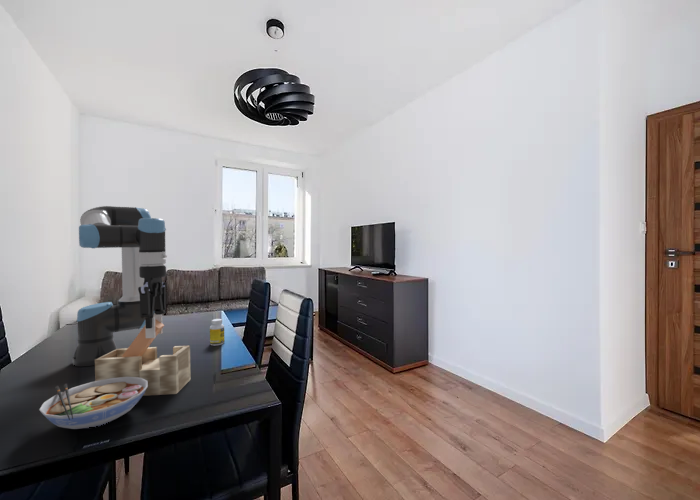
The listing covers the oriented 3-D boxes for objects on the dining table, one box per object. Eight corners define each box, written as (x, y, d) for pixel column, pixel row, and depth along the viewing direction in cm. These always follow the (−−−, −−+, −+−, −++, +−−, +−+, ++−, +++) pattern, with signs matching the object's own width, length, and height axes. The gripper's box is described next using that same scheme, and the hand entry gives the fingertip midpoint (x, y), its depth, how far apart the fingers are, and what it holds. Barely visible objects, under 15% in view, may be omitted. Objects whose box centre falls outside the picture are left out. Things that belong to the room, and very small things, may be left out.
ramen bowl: (159, 421, 85) (159, 391, 85) (40, 463, 69) (39, 425, 69) (138, 392, 103) (137, 366, 103) (39, 420, 87) (38, 390, 87)
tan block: (120, 378, 103) (110, 371, 103) (128, 373, 107) (118, 367, 107) (158, 328, 104) (148, 321, 104) (164, 325, 108) (154, 318, 108)
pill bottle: (219, 346, 150) (218, 321, 150) (207, 345, 151) (206, 321, 151) (227, 342, 156) (226, 318, 156) (215, 341, 157) (215, 318, 157)
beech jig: (95, 398, 99) (94, 359, 99) (118, 383, 110) (117, 348, 110) (176, 393, 101) (175, 356, 101) (190, 379, 112) (189, 345, 112)
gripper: (151, 266, 97) (152, 343, 98) (176, 263, 114) (177, 328, 115) (125, 267, 97) (126, 344, 97) (154, 263, 114) (155, 329, 114)
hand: (154, 335), depth 106 cm, fingers closed on tan block, 4 cm apart
